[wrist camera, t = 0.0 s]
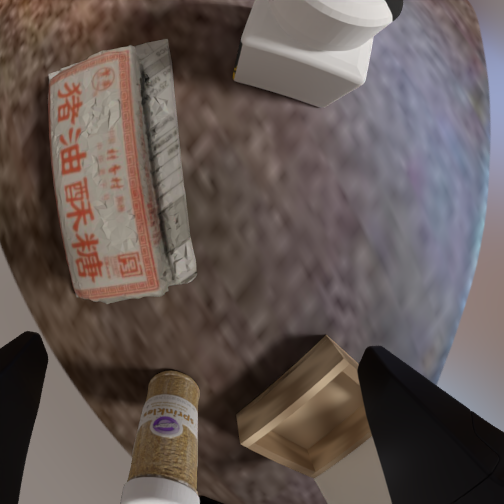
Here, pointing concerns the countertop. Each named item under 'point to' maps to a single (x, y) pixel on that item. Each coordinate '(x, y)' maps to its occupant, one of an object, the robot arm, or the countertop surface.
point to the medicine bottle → (311, 46)
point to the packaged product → (120, 174)
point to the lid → (356, 478)
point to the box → (309, 413)
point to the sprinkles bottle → (166, 444)
